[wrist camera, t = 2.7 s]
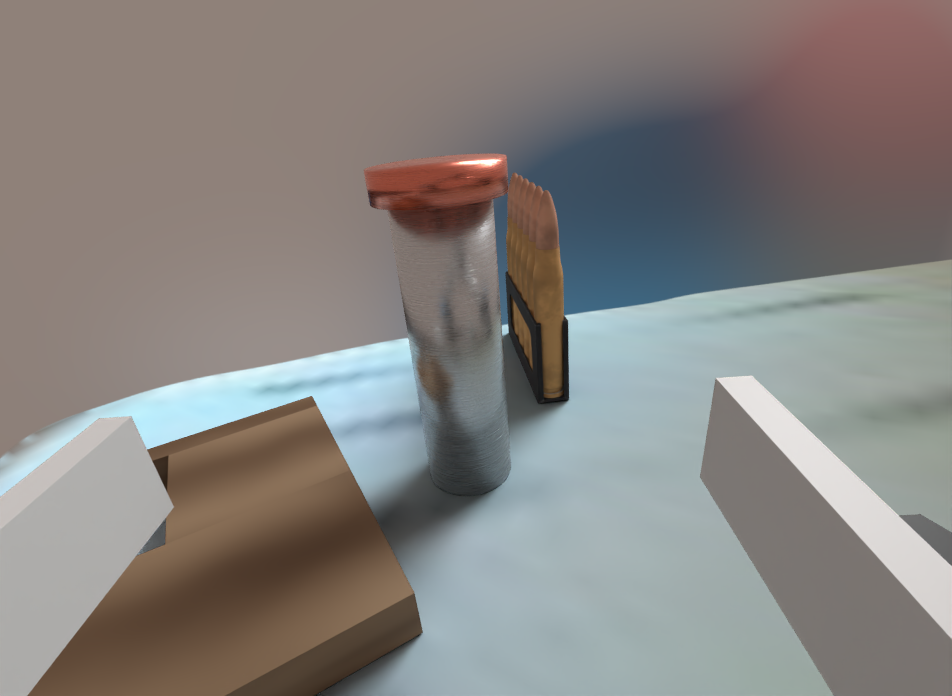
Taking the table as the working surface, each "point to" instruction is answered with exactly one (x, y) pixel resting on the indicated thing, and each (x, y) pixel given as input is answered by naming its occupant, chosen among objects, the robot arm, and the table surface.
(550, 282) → the ammunition clip
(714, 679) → the table surface
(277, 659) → the walnut plate
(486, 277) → the steel pin
